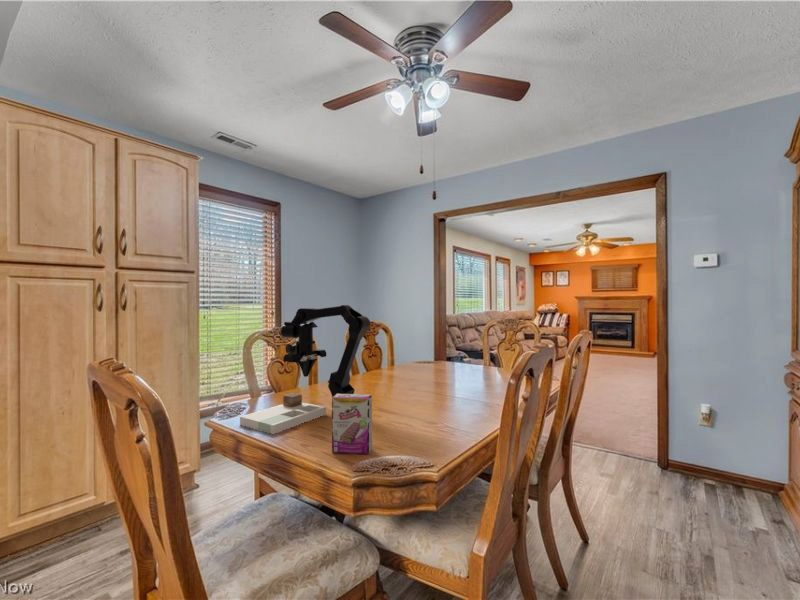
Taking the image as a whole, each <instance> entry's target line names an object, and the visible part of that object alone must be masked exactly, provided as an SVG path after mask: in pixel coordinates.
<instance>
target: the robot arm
mask: <svg viewBox="0 0 800 600" xmlns="http://www.w3.org/2000/svg"><path fill="white" fill-rule="evenodd" d="M336 316H337V317H338V316H341V317H342V319H343V320H344V321H345V322H346V324H347V325H348V330H347V331H348V340H347V342H346V345H345V348H344V351H343V354H342V356H341V360H340V363H339V366H338V368H337V370H336V371H334V372H333V371H332V372H330V376H329V379H328V380H327V383H328V386H327V387H328V390H329V391H330V394H331V398H332V397H333V396H334V395H335V394H355V388H354V387H353V386H352V385H351V383H350V381H351V375H350V372H351V369H352V366H353V364H354V360H355V358H356V354H357V352H358V350H359V346H360V343H361V341H362V339H363V338H364V336H365V335H366V334H367V332H368V330H369V329H370V327H371V321H370V319H369V317H367V316H364V315H363V314H361V313H360V312H359V311H357V310H355V309H354V308H353V307H352V306H350V305H349V304H343V305H337V306H331V307H324V308H315V307H305V308H303V307H302V308H299V309H297V311H296V313H295V315H294V316H293V319H292V320H291V321H283V322H284V323H283V325H282V327H281V329H280V334H281V337H282V338H284V339H285V338H286V339H297V338H298V340H296V341H295V345H292V344H286V345H285V353H286V354H284V355H283V362H285V363H286V362H287V363H297V364H298V366H299V367H300V370H301V372H302V375H303V377H304V378H306V377H309V375H310V373H311V371H312V369H313V367H314V365H315V363H316V361H318V358H316V356H317V357H318V356H319V357H320V358H326V357H327V350H325V349H319V348H318V349H317V348H316V349H314V344H315V343H316V341H315V340H314V339H313V338H314V333H313V332H314V329H315V328H318V325H317V324H316V323H315V322H314V321H316V320H319V319H321V318H327V317H328V318H329V317H336Z"/></svg>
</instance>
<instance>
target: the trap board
mask: <svg viewBox="0 0 800 600" xmlns="http://www.w3.org/2000/svg"><path fill="white" fill-rule="evenodd" d="M323 415H324V416H326V415H327V406H322V405H317V404H313V403H306V402H303V401H302V405H298V406H295V407H287V406H283V403H281V404H279V405H275V406H272V407H267V408H265V409H261V410H259V411H254V412H250V413H247V414H245V415H240V416H239V426H241V425H242V427H245V426H246V427H245V428H249V427H250V428H249V429H252V428H253V430H256V429H257V430H256V431H259V430H261V431H260V432H263V431H264V433H266V432H268V433H267V434H270V433H271V435H275V433H276V434H278V433H281V432H284V431H286V429H287V430H289V429H291V427H292V428H294V426H295V427H297V426H300V425H302V424H301V423H303V424H305V423H304V422H306V423H308V422H310V421H309V420H311V421H313V420H312V419H314V420H316V419H319V418H321V417H320V416H322V417H324V416H323ZM318 417H319V418H318ZM315 418H316V419H315ZM307 421H308V422H307ZM299 424H300V425H299ZM296 425H297V426H296ZM283 430H284V431H283Z"/></svg>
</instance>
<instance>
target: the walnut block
mask: <svg viewBox="0 0 800 600" xmlns="http://www.w3.org/2000/svg"><path fill="white" fill-rule="evenodd" d="M282 398H283V399H282V400H283V401H282V402H283V403H282V404H283V406H287V407H295V406H298V405H302V402H303V398H302V394H301V393H296V392H291V393H287V394H283V396H282Z"/></svg>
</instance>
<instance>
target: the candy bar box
mask: <svg viewBox="0 0 800 600" xmlns="http://www.w3.org/2000/svg"><path fill="white" fill-rule="evenodd" d="M331 399H332V400H331V422H332V423H331V453H332V454H350V455H353V454H354V455H370V453H371V451H372V448H373V438H372V437H373V395H372V394H364V393H363V394H360V393H354V394H335V395H334V396H333V397H332V396H331Z"/></svg>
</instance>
